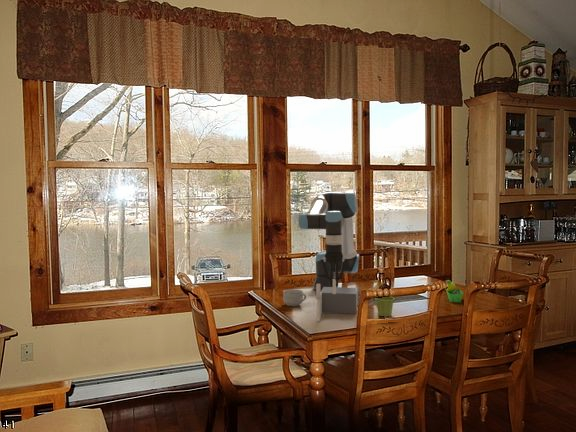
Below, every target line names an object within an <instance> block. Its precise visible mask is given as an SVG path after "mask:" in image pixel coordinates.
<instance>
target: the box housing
mask: <svg viewBox="0 0 576 432" xmlns="http://www.w3.org/2000/svg"><path fill="white" fill-rule="evenodd" d="M321 292H322V313H327V314H328V313H330V314H331V313H333V314H334V313H335V314H350V315H351V314H353V315H356V314H357V312H358V308H357V305H358V303H359V301H358V300H359V294H358V292H359V289H358V287H339V286H338V287H336V294H333V293H332V287H323V289H322V290H321ZM358 306H359V305H358Z"/></svg>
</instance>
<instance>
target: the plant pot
mask: <svg viewBox="0 0 576 432" xmlns="http://www.w3.org/2000/svg"><path fill="white" fill-rule="evenodd" d="M374 299H375V302H376V305H377V311H378V312H377V313H378V316H379V317H383V316H384V317H383V318H388V317H387V316H389V317H392V314H393V305H394V303H395V297H393V296H390V297H382V298H374Z"/></svg>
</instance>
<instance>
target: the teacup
mask: <svg viewBox="0 0 576 432" xmlns="http://www.w3.org/2000/svg"><path fill="white" fill-rule="evenodd" d="M282 292H283V293H282V300H283V303H284V304H285V306H287V307H299V306H300V305H302V303H303V302H304V301H306V299H307V294H306V293H305V292H304V290H302V289H285V290H283V291H282Z"/></svg>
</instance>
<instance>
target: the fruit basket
mask: <svg viewBox="0 0 576 432" xmlns="http://www.w3.org/2000/svg"><path fill="white" fill-rule="evenodd" d="M445 282H447V283H448V288H447V289H446V288H445V290H446V291H445V292H446V293H447V298H448V299H449V302H450V303H461V302H462V298H463V295H464V293H463V291H462V290H461V289H460V288H459V289H458V288H457V287H456V284H455V283H454V282H452V281H451V280H449V279H447V280H445Z"/></svg>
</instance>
